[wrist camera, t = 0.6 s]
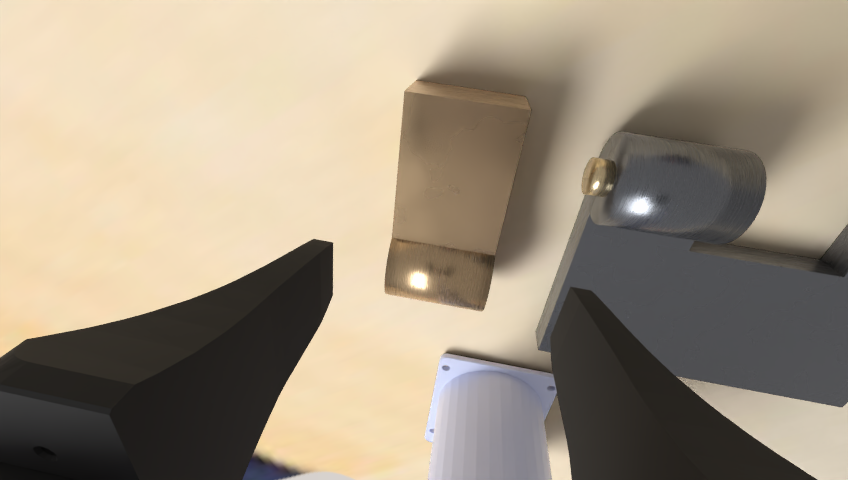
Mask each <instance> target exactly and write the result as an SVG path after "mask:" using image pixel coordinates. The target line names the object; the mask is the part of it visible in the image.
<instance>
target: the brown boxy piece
mask: <svg viewBox="0 0 848 480" xmlns="http://www.w3.org/2000/svg"><path fill="white" fill-rule="evenodd" d="M531 111H532V110H531V108H530V105H529V103H528V101H527V99H526V97H525V96H520V95H513V94H506V93H499V92H493V91H486V90H479V89H472V88H466V87H459V86H452V85H445V84H439V83H432V82H425V81H418V80H416V81H415V82H414V83H413V84H412V85H411V86H409V87H408V88H407V89H406V90H405V92H404V104H403V116H402V127H401V139H400V151H399V162H398V174H397V185H396V197H395V209H394V220H393V232H392V240H391V244H390V249H389V254H388V259H387V266H386V274H385V293H386V294H389V295H395V296H400V297H405V298H411V299H416V300H422V301H427V302H433V303H438V304H444V305H449V306H454V307H460V308H465V309H471V310H476V311H483V310H484V307H485V305H486V301H487V298H488V294H489V289H490V284H491V279H492V274H493V267H494V260H495V253H496V250H497V246H498V242H499V238H500V234H501V230H502V226H503V222H504V218H505V214H506V210H507V206H508V202H509V198H510V194H511V190H512V186H513V182H514V178H515V174H516V170H517V166H518V162H519V158H520V154H521V150H522V146H523V142H524V138H525V134H526V130H527V126H528V122H529V119H530V115H531Z"/></svg>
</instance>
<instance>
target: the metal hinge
mask: <svg viewBox="0 0 848 480" xmlns="http://www.w3.org/2000/svg"><path fill="white" fill-rule="evenodd" d="M765 190H766V172H765V168H764V165H763V163H762V161H761V160H760V158H759V157H758V156H757V155H756V154H754V153H753V152H750V151H746V150H740V149H733V148H727V147H720V146H714V145H707V144H700V143H694V142H687V141H681V140H674V139H667V138H661V137H654V136H648V135H641V134H634V133H628V132H621V131H620V132H617V133H615V134H614V135H613V136H612V137H611V138H610V139H609V140H608V142H607V143H606V144H605V146H604V148H603V150H602V152H601V154H600V156H599V158H595V157H593V158H591V159H590V160H589V162H588V163H587V165H586V168H585V170H584V174H583V178H582V192H583V194H585V197H584V199H583V202H582V205H581V208H580V211H579V213H578V216H577V219H576V222H575V224H574V227H573V230H572V233H571V235H570V238H569V241H568V244H567V247H566V249H565V252H564V255H563V258H562V260H561V263H560V266H559V269H558V272H557V274H556V277H555V280H554V283H553V285H552V288H551V291H550V294H549V296H548V299H547V302H546V305H545V308H544V310H543V313H542V316H541V319H540V321H539V324H538V327H537V330H536V338H537V345H538V350H541V351H546V352H551V346H550V336H551V334H552V331H553V329H554V326H555V324H556V321H557V319H558V316H559V314H560V311H561V309H562V306H563V304H564V301H565V299H566V296H567V294H568V291H569V289H570V287H576V288H581V289H586V290H591V291H592V292H593V293H595V294H596V295H597V296H598V297H599V299H600V300H601V301H602V302H603V303H604V304H605V305H606V306H607V307H608V308H609V309H610V310H611V311H612V313H613V314H614V315H615V316H616V317H617V318H618V319H619V320H620V321H621V322H622V323H623V325H624V326H625V327H626V328H627V329H628V330H629V331H630V332H631V333H632V334H633V335H634V336H635V337H636V338H637V339H638V340H639V341H640V342H641V343H642V345H643V346H644V347H645V348H646V349H647V350H648V351H649V352H650V353H651V354H653V355H654V356H655V357H656V358H657V359H658V360H659V361H660V362H661V363H662V364H663V365H664V366H665V367H666V368H667V369H668V370H669V371H670V372H671V373H673V374H674V375H675V376H678V377H684V378H689V379H694V380H700V381H705V382H710V383H715V384H721V385H726V386H731V387H737V388H742V389H747V390H752V391H758V392H763V393H768V394H774V395H779V396H784V397H789V398H795V399H800V400H805V401H811V402H816V403H821V404H827V405H832V406H837V407H843V406H844V405H845V404H846V403H847V402H848V225H847V226H846V227H845V229H844V230H843V231H842V232H841V234H840V235H839V236H838V238H837V239H836V240H835V241H834V243H833V244H832V245H831V247H830V248H829V249H828V250H827V252H826V253H825V254H824V256H823V257H822V258H821V259H820V260H819V259H813V258H807V257H801V256H795V255H789V254H783V253H777V252H771V251H765V250H759V249H753V248H747V247H741V246H735V245H729V244H726V243H729V242H731V241H733V240H735V239H737V238H738V237H739V236H741V235H742V234H743V233H744V232H745V231H746V230H747V229H748V228H749V226H750V225H751V224H752V222H753V221H754V220H755V218H756V216H757V214H758V212H759V210H760V208H761V205H762V202H763V200H764V195H765Z"/></svg>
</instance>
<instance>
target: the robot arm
mask: <svg viewBox="0 0 848 480" xmlns="http://www.w3.org/2000/svg"><path fill="white" fill-rule="evenodd" d="M332 296H333V243H332V242H327V241H321V240H316V239H313V240H311V241H309V242H307V243H305V244H303V245H301V246H300V247H298V248H296V249H294V250H293V251H291V252H289V253H287V254H286V255H284V256H282V257H280V258H278V259H277V260H275V261H273V262H271V263H269V264H267V265H266V266H264V267H262V268H260V269H258V270H256V271H254V272H252V273H250V274H248V275H246V276H244V277H242V278H240V279H238V280H236V281H233V282H231V283H229V284H227V285H225V286H222V287H220V288H218V289H215V290H213V291H210V292H208V293H205V294H203V295H200V296H198V297H195V298H192V299H190V300H187V301H184V302H181V303H177V304H174V305H171V306H168V307H165V308H162V309H159V310H156V311H153V312H149V313H146V314H142V315H139V316H135V317H131V318H127V319H124V320H120V321H115V322H111V323H107V324H103V325H99V326H94V327H90V328H85V329H80V330H75V331H69V332H64V333H59V334H54V335H48V336H43V337H37V338H31V339H26V340H25V341H23V342H22V343H21V344H19V345H18V346H16V347H15V348H13V349H12V350H11V351H9V352H8V353H6V354H5V355H3V356H2V357H1V358H0V480H242V479H243V476H244V474H245V471H246V469H247V467H248V464H249V462H250V459H251V457H252V455H253V453H254V450H255V448H256V446H257V443H258V441H259V439H260V436H261V434H262V432H263V430H264V427H265V425H266V423H267V421H268V419H269V416H270V414H271V412H272V410H273V408H274V406H275V403H276V401H277V399H278V397H279V395H280V393H281V391H282V389H283V387H284V386H285V384H286V382H287V380H288V378H289V377H290V375H291V373H292V372H293V370H294V368H295V367H296V365H297V363H298V362H299V360H300V358H301V356H302V355H303V353H304V351H305V350H306V348H307V346H308V345H309V343H310V341H311V340H312V338H313V336H314V334H315V333H316V331H317V329H318V327H319V326H320V324H321V322H322V320H323V317H324V315H325V313H326V311H327V308H328V306H329V303H330V301H331V298H332ZM550 346H551V361H552V371H553V374H552V373H546V372H541V371H536V370H531V369H526V368H520V367H515V366H510V365H505V364H500V363H494V362H489V361H484V360H479V359H474V358H468V357H463V356H458V355H453V354H443V355H441V357H440V361H439V366H438V371H437V376H436V381H435V386H434V391H433V396H432V401H431V407H430V412H429V417H428V422H427V427H426V432H425V439H426V440H427V441H429V442H433V443H432V451H431V458H430V466H429V474H428V480H552V476H551V468H550V461H549V454H548V446H547V439H546V432H545V424H544V421H545V419H546V416H547V414H548V412H549V410H550V407H551V405H552V403H553V401H554V399H555V396H556V394H557V396H558V400H559V405H560V410H561V415H562V420H563V424H564V429H565V434H566V439H567V444H568V450H569V456H570V465H571V475H572V480H817V479H816V478H814V477H812V476H811V475H809V474H808V473H806V472H804V471H803V470H801V469H800V468H798V467H797V466H795V465H794V464H792V463H791V462H789V461H788V460H786V459H785V458H783V457H781V456H780V455H778V454H777V453H775V452H774V451H772V450H771V449H769V448H768V447H767V446H765V445H764V444H762V443H761V442H759V441H758V440H756V439H755V438H753V437H752V436H751V435H749V434H748V433H746V432H745V431H744V430H742V429H741V428H740V427H738V426H737V425H736V424H734V423H733V422H732V421H730V420H729V419H727V418H726V417H725V416H723V415H722V414H721V413H719V412H718V411H717V410H716V409H714V408H713V407H712V406H710V405H709V404H708V403H707V402H705V401H704V400H703V399H702V398H701V397H699V396H698V395H697V394H696V393H695V392H693V391H692V390H691V389H690V388H689V387H688V386H686V385H685V384H684V383H683V382H682V381H680V380H679V379H678V378H677V377H676V376H675V375H674V374H673V373H671V372H670V371H669V370H668V369H667V368H666V367H665V366H664V365H663V364H662V363H661V362H660V361H659V360H658V359H657V358H656V357H655V356H654V355H653V354H651V353H650V352H649V351H648V350H647V349H646V348H645V347H644V346H643V345H642V343H641V342H640V341H639V340H638V339H637V338H636V337H635V336H634V335H633V334H632V333H631V332H630V331H629V330H628V329H627V328H626V327H625V326H624V325H623V323H622V322H621V321H620V320H619V319H618V318H617V317H616V316H615V315H614V314H613V313H612V311H611V310H610V309H609V308H608V307H607V306H606V305H605V304H604V303H603V302H602V301H601V300H600V299H599V297H598V296H597V295H596V294H595V293H593V292H592V291H591V290H586V289H581V288H576V287H570V289H569V291H568V294H567V296H566V299H565V301H564V304H563V306H562V309H561V311H560V314H559V316H558V319H557V321H556V324H555V326H554V329H553V331H552V334H551V336H550ZM444 365H447V366H444Z"/></svg>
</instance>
